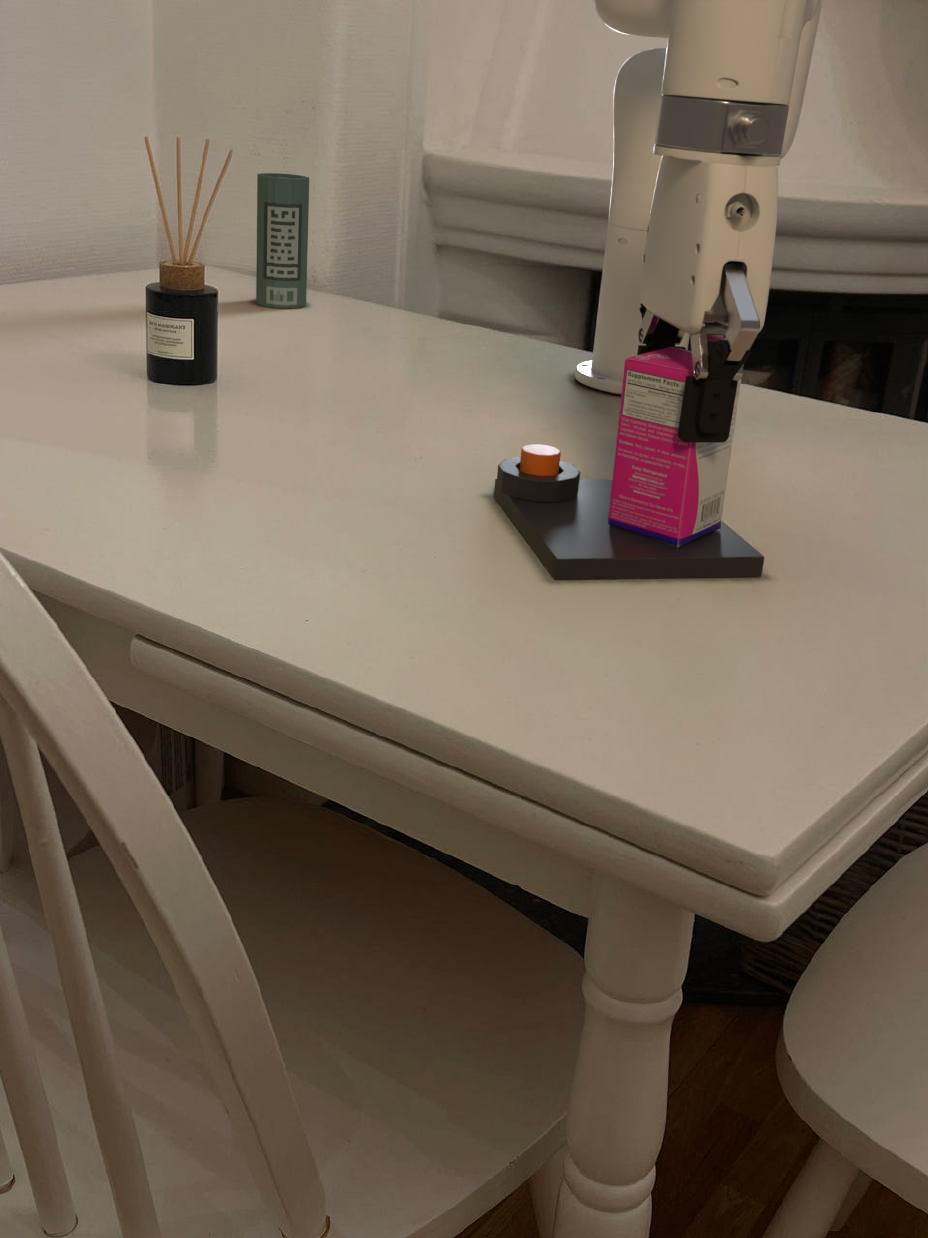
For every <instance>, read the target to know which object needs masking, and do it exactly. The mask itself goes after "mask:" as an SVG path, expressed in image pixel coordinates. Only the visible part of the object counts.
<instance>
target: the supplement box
mask: <svg viewBox="0 0 928 1238" xmlns="http://www.w3.org/2000/svg"><path fill="white" fill-rule="evenodd" d="M744 364H745V363H744ZM744 364H743V366H744ZM686 376H694V375H693V364H692V351H691V350H689V349H688V350H684V349H679V348H674V347H668V348H664V349H660V350H656V351H652V352H648V353H644V354H640V355H636V356H632V357H628V358H626V359H625V365H624V376H623V385H622V395H621V394H620V405H619V412H618V413H619V415H618V423H617V432H616V442H615V453H614V462H613V471H612V472H613V473H612V479H611V480H612V489H611V499H610V508H609V517H608V524H609V525H611V526H614V527H617V528H620V529H623V530H626V531H629V532H632V533H635V534H639V535H642V536H645V537H648V538H651V539H654V540H657V541H660V542H663V543H666V544H669V545H672V546H675V547H681V546H683V545H685V544H688V543H690V542H692V541H694V540H696V539H698V538H700V537H702V536H704V535H707V534H709V533H711V532H713V531H716V530H718V529H720V528H721V520H722V518H723V512H724V504H725V496H726V490H727V482H728V475H729V469H730V468H729V467H730V462H731V453H732V447H733V441H734V440H733V439H734V433H735V426H736V420H737V412H738V405H739V398H740V390H741V384H742V378H741V379H740V380H739V381H738V384H737V390H736V396H735V402H734V409H733V415H732V421H731V427H730V433H729V438H728V440H727V441H726V442H723V443H709V442H683V441H682V440H681V439H679V437H678V428H679V422H680V415H681V408H682V401H683V394H684V388H685V381H686Z"/></svg>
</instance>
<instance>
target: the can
mask: <svg viewBox="0 0 928 1238" xmlns="http://www.w3.org/2000/svg"><path fill="white" fill-rule="evenodd" d="M256 177H257V181H256V185H257V186H256V188H257V189H256V272H255V273H256V276H255V277H256V279H255V281H256V282H255V283H256V287H255V290H256V292H255V297H256V298H255V305H259V306H262V307H266V308H273V309H297V308H298V309H300V308H304V307H307V289H308V287H307V286H308V252H309V251H308V246H309V209H310V208H309V206H310V205H309V203H310V176H306V175H301V174H292V173H278V172H274V173H273V172H260V173H259V172H258V173H257V175H256Z"/></svg>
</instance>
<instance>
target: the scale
mask: <svg viewBox="0 0 928 1238" xmlns="http://www.w3.org/2000/svg"><path fill="white" fill-rule="evenodd" d="M520 459H521V456H515V457H514V456H513V457H510V458H505V459H503V460H502V461H501V462H500V463H498V465H497V475H496V479H494V489H493V498H494V500H496V502H497V503H498V505H499V506H500V508H501V509H502V510H503V512H504V513H505V514H506V516H507V517H508V519H509V520H510V521H511V523H513V525H514V526H515V528H516V529H517V530H518V532H519V533H520V534H521V535H522V537H523V539H524V540H525V541H526V542H527V544H528V545H529V547H530V548H531V550H532V551H533V552H534V554H535V555H536V556H537V557H538V559H539V560H540V561H541V563H542V564H543V566H544V567H545V568H546V570H547V571H548V572H549V574H550V575H551V577H552V578H553V579H554V580H558V581H559V580H612V579H613V580H620V579H621V580H625V579H627V580H629V579H630V580H631V579H690V578H691V579H697V578H702V579H703V578H761V577H762V573H763V568H764V563H765V556H764V555H763V554H761V552H759V551H758V550H757V549H756V548H754V547H753V546H752V545H751V544H750V543H749V542H747V541H746V540H745V539H744V538H743V537H742V536H740V534H738V533H737V532H736V531H735V530H734V529H733V528H731V527H730V526H729V525H727V524H726V523H725V522H724V521H723V520H722V519H721V528H720V529H718V530H716V531H713V532H711V533H709V534H707V535H704V536H702V537H700V538H698V539H696V540H694V541H692V542H690V543H688V544H685V545H683V546H681V547H675V546H672V545H669V544H666V543H663V542H660V541H657V540H654V539H651V538H648V537H645V536H642V535H639V534H635V533H632V532H629V531H626V530H623V529H620V528H617V527H614V526H611V525H609V524H608V517H609V508H610V499H611V489H612V480H613V479H609V478H607V479H604V478H603V479H601V478H600V479H593V478H592V479H587V478H585V479H584V478H583V479H581V478H580V477H581V471H580V470H579V469H578V468H577V467H576V466H575V465H574V464H571V463H568V462H566V461H562V460H560V465H559V474H558V475H553V476H538V475H532V474H527V473H524V472H522V471H519V469H520Z"/></svg>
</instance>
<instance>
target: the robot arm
mask: <svg viewBox="0 0 928 1238" xmlns="http://www.w3.org/2000/svg"><path fill="white" fill-rule="evenodd" d="M593 4H594V8H595V11H596V13H597V15H598V17H599V18H600V19H601V21H602V22H603V23H604V25H606V26H607V28H609V29H611V30H613V31H614V32H616V33H620V34H623V35H628V36H635V37H645V38H646V37H647V38H660V39H661V38H663V39H667V43H666V44H667V45H666V47H652V48H648V49H644V50H640V51H638V52H636V53H634V54H632V55H631V56H629V57H628V58H627V59H626V60H625V61H624V62H623V64H621V66H620V68H619V70H618V71H617V75H616V78H615V81H614V87H613V94H612V95H613V97H612V99H613V101H612V119H613V121H612V124H613V126H612V127H613V156H612V157H613V158H612V160H613V161H612V164H613V165H612V178H611V189H610V201H609V209H608V218H607V219H608V220H607V231H606V239H605V247H604V256H603V257H604V258H603V264H602V273H601V280H600V290H599V297H598V307H597V315H596V323H595V331H594V332H595V333H594V339H593V340H594V341H593V349H592V358H591V360H585V361H583V362H580V363H578V364H577V365H576V366H575V371H574V377H575V379H576V381H578V382H579V383H580V384H582V385H585V386H587V387H588V388H591V389H595V390H599V391H602V392H606V393H611V394H616V395H620V396H621V395H622V385H623V376H624V365H625V359H626V358H628V357H632V356H636V355H640V354H644V353H648V352H652V351H656V350H660V349H664V348H668V347H674V348H679V349H684V350H689V342H690V348H691V349H690V351H692V364H693V375H694V376H686V381H685V388H684V394H683V401H682V408H681V415H680V422H679V428H678V437H679V439H681V440H682V441H683V442H709V443H723V442H726V441H727V440H728V438H729V433H730V427H731V421H732V415H733V409H734V402H735V396H736V390H737V384H738V381H739V380H740V379H741V380H742V378H743V375H744V365H743V364H745V363H746V362H747V360H748V358H749V356H751V347H752V346H753V344H754V342H755V340H756V338H757V336H758V335H759V333H761V331H762V330H763V328H764V326H765V321H766V314H767V308H768V302H769V295H770V289H771V288H770V287H771V279H772V271H773V264H774V254H775V247H776V245H775V244H776V234H777V224H778V223H777V221H778V204H779V167H780V165H781V160H782V159H783V158H784V157H785V156H786V155H787V154H788V152H789V151H790V149H791V147H792V145H793V142H794V140H795V138H796V134H797V131H798V127H799V122H800V117H801V113H802V108H803V104H804V99H805V94H806V89H807V82H808V77H809V74H810V73H809V72H810V67H811V62H812V57H813V53H814V47H815V42H816V36H817V31H818V26H819V21H820V17H821V12H822V6H823V0H593ZM778 166H779V167H778ZM706 323H707V324H706ZM709 323H710V324H709ZM713 323H718V324H719V325H716V324H715V325H714V324H713ZM708 342H716V343H715V345H714V346H713V347H712V349H711V351H710V353H709V348H708Z"/></svg>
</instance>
